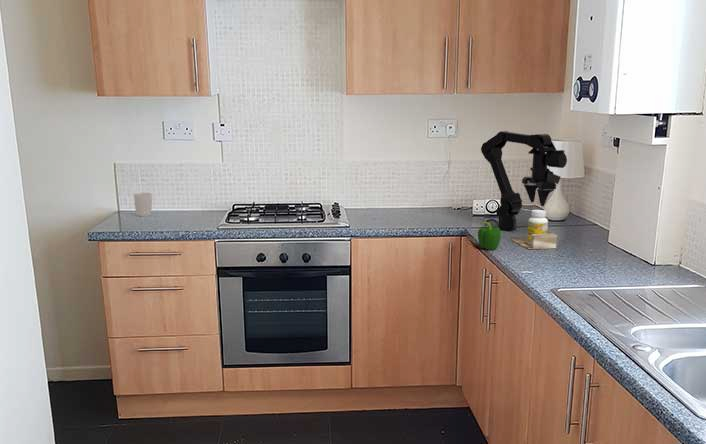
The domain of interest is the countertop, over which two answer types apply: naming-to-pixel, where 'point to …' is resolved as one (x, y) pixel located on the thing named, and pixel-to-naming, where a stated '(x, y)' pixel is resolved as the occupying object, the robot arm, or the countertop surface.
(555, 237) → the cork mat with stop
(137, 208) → the white cup
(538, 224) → the supplement bottle
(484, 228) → the bell pepper
